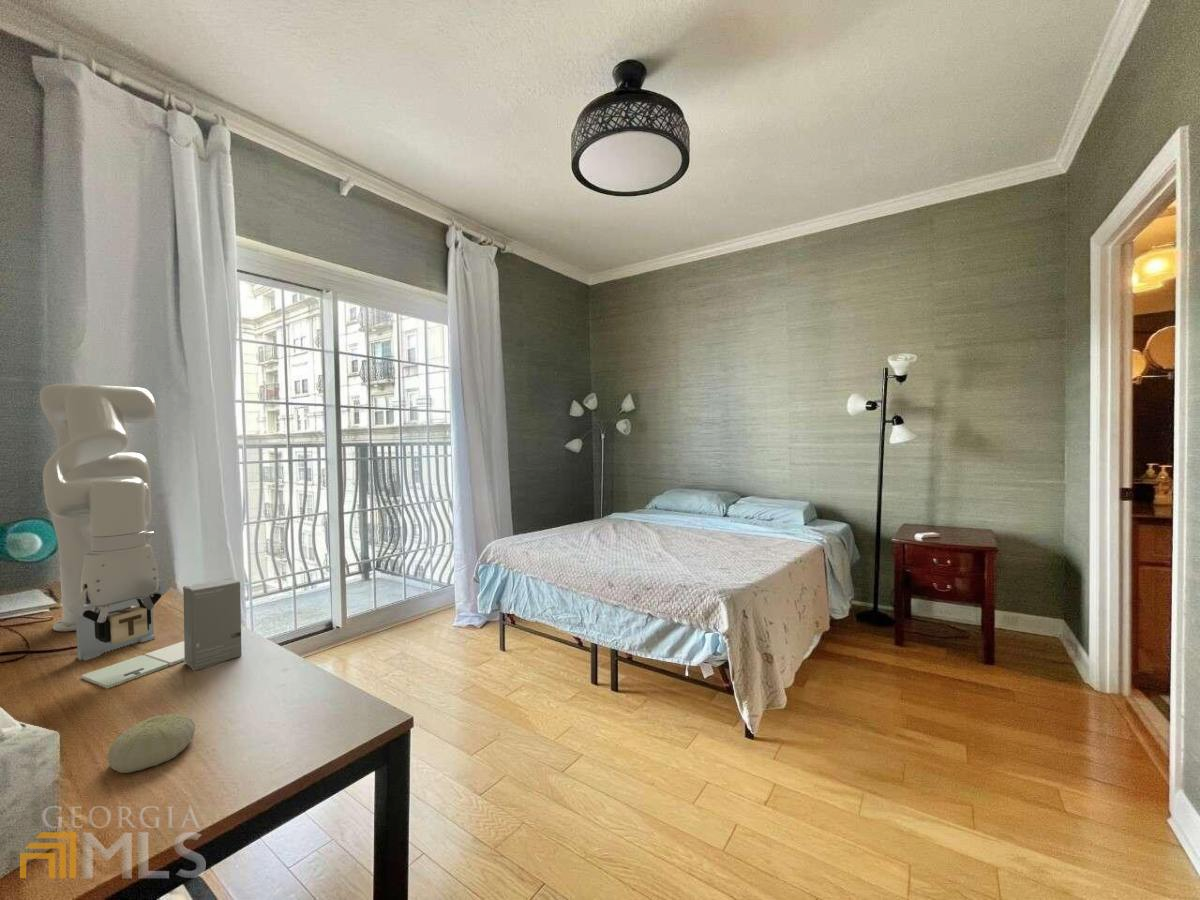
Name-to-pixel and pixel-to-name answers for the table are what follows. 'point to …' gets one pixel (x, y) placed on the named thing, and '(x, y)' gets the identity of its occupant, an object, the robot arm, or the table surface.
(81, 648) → the screen
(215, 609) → the skincare box
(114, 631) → the letter cube
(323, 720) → the table surface
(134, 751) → the sea urchin shell
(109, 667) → the pad
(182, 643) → the pad
